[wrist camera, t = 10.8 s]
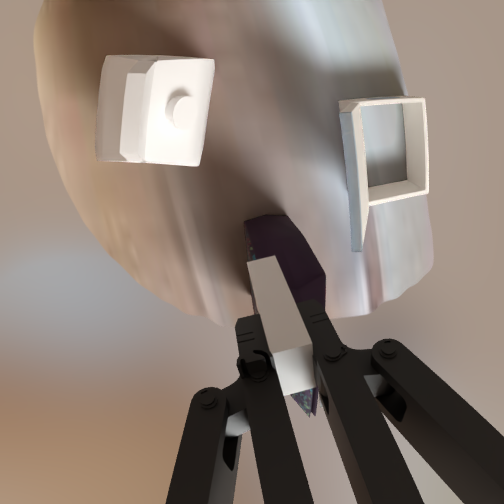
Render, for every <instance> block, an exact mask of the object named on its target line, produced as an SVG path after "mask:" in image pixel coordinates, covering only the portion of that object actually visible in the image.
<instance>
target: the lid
mask: <svg viewBox="0 0 504 504" xmlns="http://www.w3.org/2000/svg"><path fill="white" fill-rule="evenodd" d="M339 116H340V123H341V131H342V139H343V147H344V156H345V165H346V175H347V186H348V198H349V212H350V228H351V248H352V252H362V247H363V241H364V236H365V230H366V224H367V218H368V212H369V198H368V181H367V167H366V155H365V144H364V135H363V125H362V117H361V109H360V102H355V103H350V104H349V105H348V106H347V107H346V108H345V109H344V110H343V111H341V112H340V113H339Z"/></svg>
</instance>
